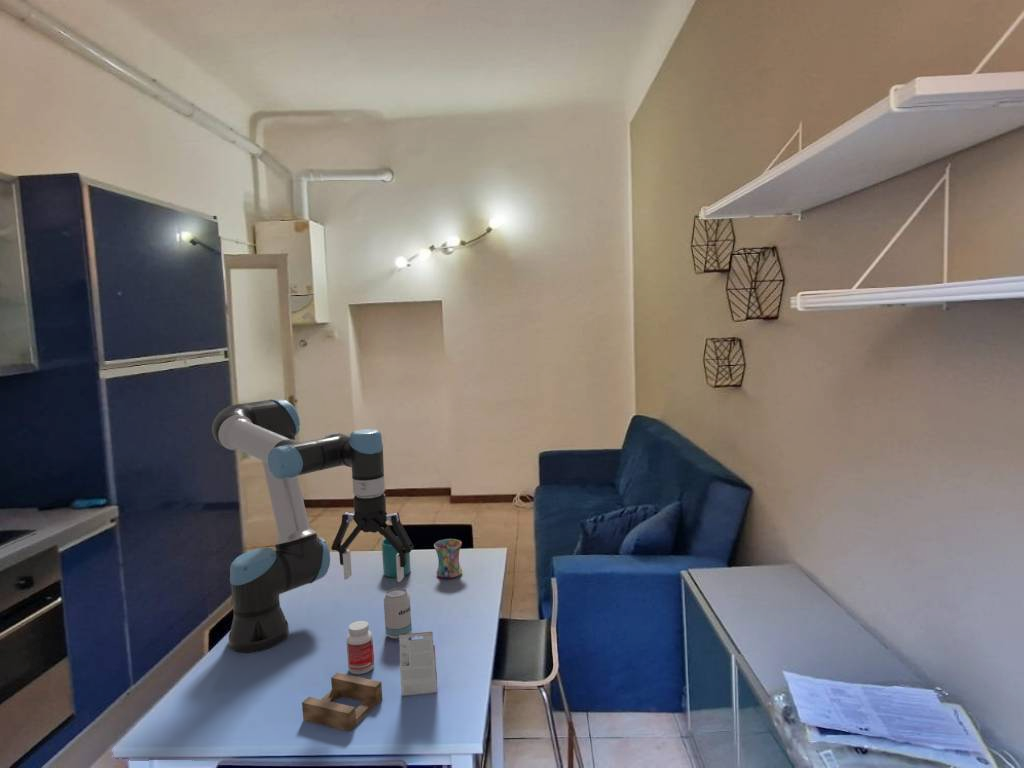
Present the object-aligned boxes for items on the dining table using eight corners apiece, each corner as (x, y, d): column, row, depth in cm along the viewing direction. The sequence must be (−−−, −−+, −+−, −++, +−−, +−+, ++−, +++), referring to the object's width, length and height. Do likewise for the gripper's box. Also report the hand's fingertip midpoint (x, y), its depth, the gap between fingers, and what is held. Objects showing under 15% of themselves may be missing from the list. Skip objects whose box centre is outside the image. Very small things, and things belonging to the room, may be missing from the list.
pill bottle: (378, 669, 151) (375, 626, 150) (353, 678, 148) (350, 634, 147) (369, 658, 156) (366, 616, 155) (345, 667, 153) (342, 624, 152)
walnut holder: (303, 720, 133) (301, 702, 132) (338, 688, 144) (337, 672, 143) (349, 731, 128) (348, 713, 128) (382, 698, 139) (381, 681, 139)
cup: (415, 564, 217) (414, 533, 216) (406, 578, 205) (404, 545, 204) (390, 564, 218) (388, 533, 217) (380, 578, 206) (377, 545, 205)
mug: (435, 570, 211) (433, 540, 210) (462, 568, 212) (461, 537, 211) (435, 585, 199) (433, 552, 198) (464, 582, 200) (462, 550, 199)
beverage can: (400, 643, 163) (398, 599, 162) (380, 638, 166) (377, 595, 165) (417, 631, 169) (414, 589, 168) (397, 626, 172) (394, 585, 171)
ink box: (402, 687, 143) (398, 627, 142) (437, 684, 144) (434, 624, 142) (401, 697, 139) (397, 635, 138) (437, 693, 140) (433, 632, 139)
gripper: (313, 497, 149) (319, 582, 151) (413, 499, 145) (418, 586, 147) (327, 488, 156) (333, 570, 158) (423, 490, 152) (427, 573, 154)
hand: (374, 578), depth 153 cm, fingers open, 13 cm apart
